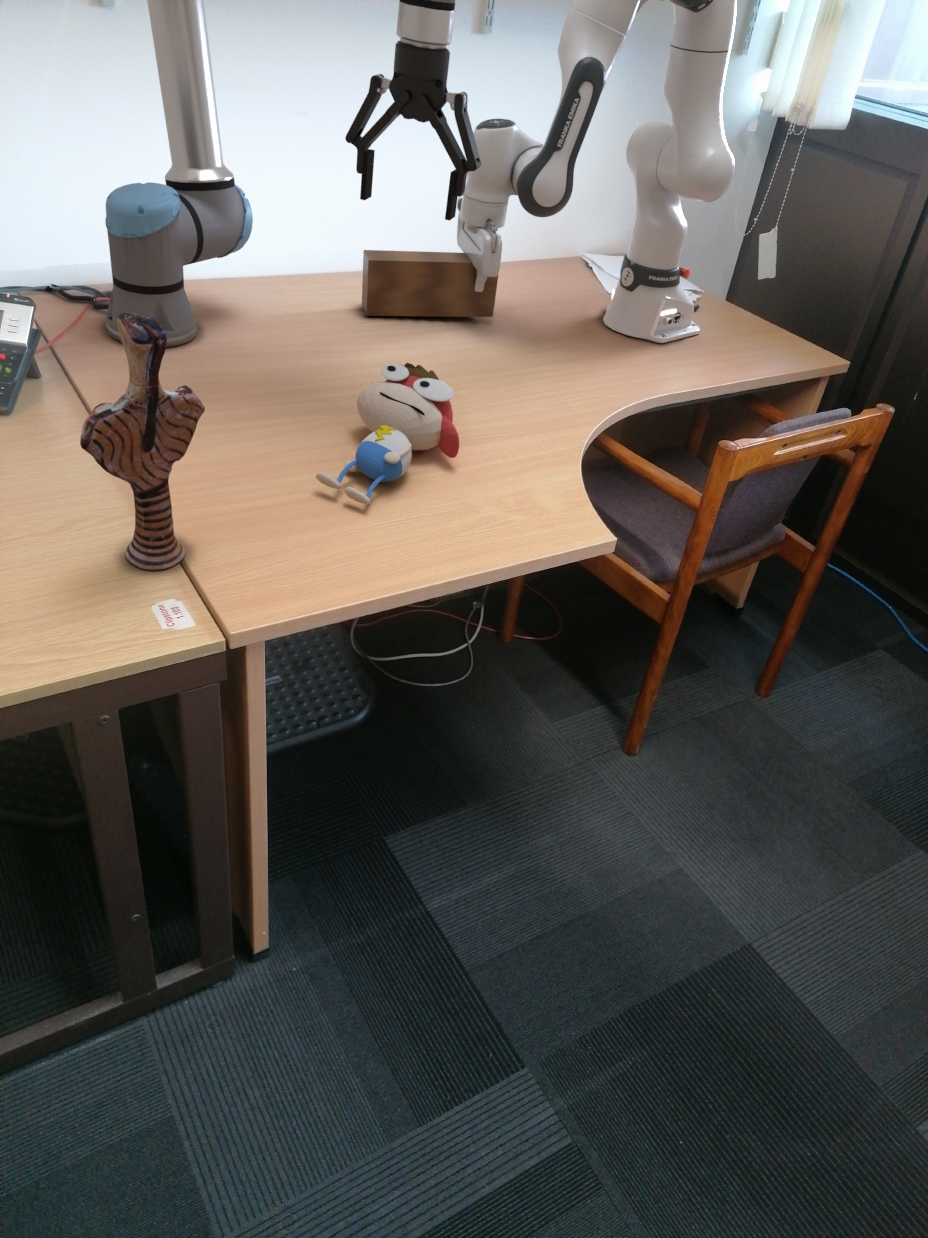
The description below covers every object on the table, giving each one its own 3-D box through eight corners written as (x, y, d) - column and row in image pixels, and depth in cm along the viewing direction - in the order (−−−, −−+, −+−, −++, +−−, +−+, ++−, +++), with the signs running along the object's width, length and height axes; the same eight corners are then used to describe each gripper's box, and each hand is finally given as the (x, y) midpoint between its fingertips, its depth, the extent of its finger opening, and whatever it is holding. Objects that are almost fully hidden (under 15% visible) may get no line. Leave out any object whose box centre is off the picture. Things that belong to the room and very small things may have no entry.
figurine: (185, 519, 115) (170, 285, 96) (226, 544, 112) (219, 308, 93) (85, 564, 105) (47, 314, 86) (127, 593, 102) (97, 341, 83)
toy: (278, 428, 121) (396, 343, 140) (277, 485, 128) (389, 398, 148) (391, 486, 117) (497, 391, 136) (384, 542, 124) (485, 444, 143)
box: (366, 315, 177) (368, 259, 170) (361, 304, 182) (363, 249, 175) (493, 316, 184) (500, 263, 177) (485, 306, 188) (492, 253, 181)
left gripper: (517, 58, 122) (492, 220, 135) (349, 23, 126) (341, 184, 139) (503, 63, 116) (478, 232, 130) (327, 26, 120) (321, 194, 133)
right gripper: (514, 230, 166) (502, 303, 175) (485, 198, 181) (475, 267, 190) (482, 227, 164) (471, 301, 173) (455, 196, 179) (446, 265, 188)
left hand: (407, 208), depth 134 cm, fingers open, 13 cm apart
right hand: (473, 283), depth 182 cm, fingers closed on box, 6 cm apart
